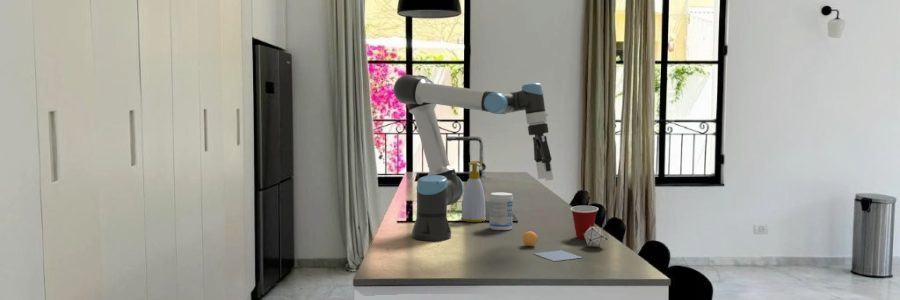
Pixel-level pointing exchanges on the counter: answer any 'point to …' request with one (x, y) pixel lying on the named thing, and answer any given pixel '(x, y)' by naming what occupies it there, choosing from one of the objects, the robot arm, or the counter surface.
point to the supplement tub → (501, 211)
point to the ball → (529, 238)
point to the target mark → (557, 255)
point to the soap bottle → (473, 197)
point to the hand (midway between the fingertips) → (545, 179)
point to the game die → (594, 236)
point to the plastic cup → (583, 219)
